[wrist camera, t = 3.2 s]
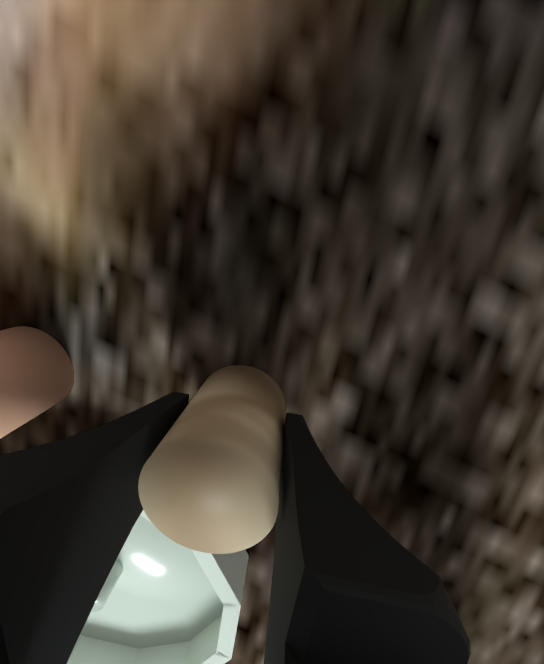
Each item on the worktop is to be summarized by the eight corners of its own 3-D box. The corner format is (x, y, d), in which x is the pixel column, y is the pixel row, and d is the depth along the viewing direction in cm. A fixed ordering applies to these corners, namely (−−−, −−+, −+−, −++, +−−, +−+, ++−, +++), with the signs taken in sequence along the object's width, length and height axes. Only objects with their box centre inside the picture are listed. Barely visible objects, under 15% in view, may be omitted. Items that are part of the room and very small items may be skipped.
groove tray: (263, 474, 13) (256, 516, 11) (229, 662, 18) (220, 718, 15) (-26, 418, 14) (-84, 447, 12) (8, 612, 18) (-30, 660, 16)
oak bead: (292, 373, 12) (289, 454, 7) (278, 450, 13) (267, 565, 8) (202, 357, 12) (139, 425, 7) (195, 434, 13) (136, 538, 8)
